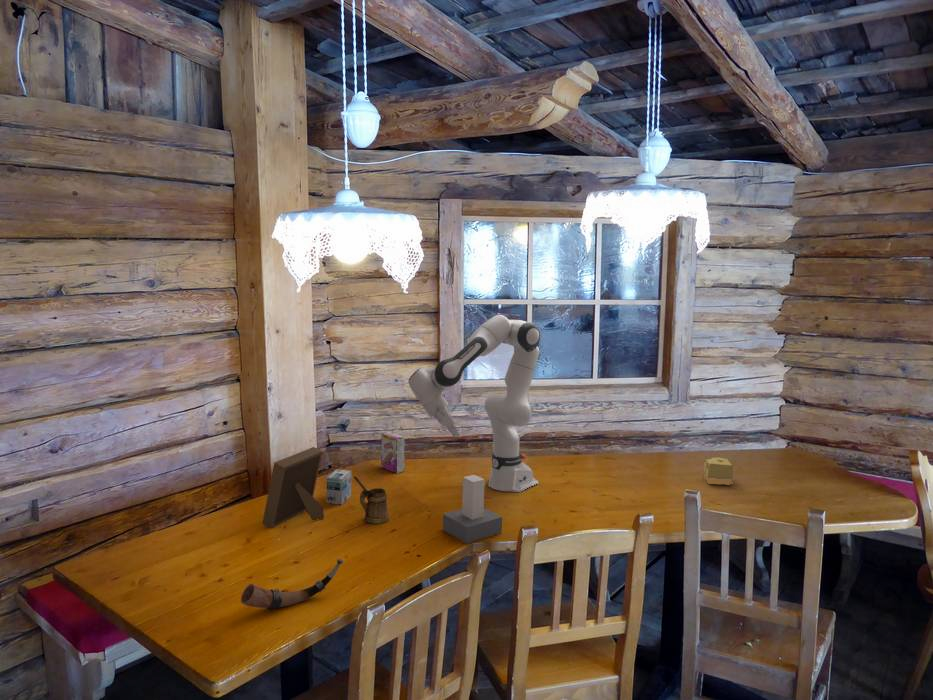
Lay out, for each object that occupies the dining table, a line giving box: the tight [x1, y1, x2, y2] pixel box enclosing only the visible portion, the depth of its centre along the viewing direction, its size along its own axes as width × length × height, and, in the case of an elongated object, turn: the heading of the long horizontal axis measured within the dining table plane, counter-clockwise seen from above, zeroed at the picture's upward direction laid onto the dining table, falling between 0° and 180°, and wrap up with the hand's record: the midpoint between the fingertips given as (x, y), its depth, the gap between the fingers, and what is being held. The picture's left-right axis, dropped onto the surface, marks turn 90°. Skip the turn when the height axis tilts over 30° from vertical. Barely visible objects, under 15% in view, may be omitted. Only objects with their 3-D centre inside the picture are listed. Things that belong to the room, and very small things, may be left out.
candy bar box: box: [380, 431, 406, 474], centre depth 314 cm, size 11×5×16 cm, turn 46°
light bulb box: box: [326, 468, 352, 505], centre depth 277 cm, size 11×7×11 cm, turn 168°
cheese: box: [702, 457, 734, 480], centre depth 312 cm, size 10×11×10 cm
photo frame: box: [261, 446, 325, 530], centre depth 255 cm, size 15×22×25 cm
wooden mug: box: [353, 475, 390, 525], centre depth 258 cm, size 9×14×18 cm, turn 115°
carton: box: [461, 474, 486, 520], centre depth 250 cm, size 5×6×14 cm
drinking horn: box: [240, 558, 344, 610], centre depth 199 cm, size 6×30×10 cm, turn 125°
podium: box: [442, 507, 503, 545], centre depth 251 cm, size 16×14×6 cm
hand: (457, 436), depth 269 cm, fingers open, 8 cm apart
